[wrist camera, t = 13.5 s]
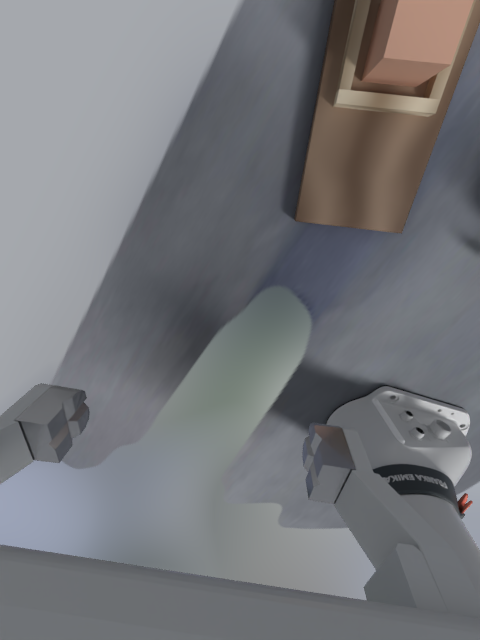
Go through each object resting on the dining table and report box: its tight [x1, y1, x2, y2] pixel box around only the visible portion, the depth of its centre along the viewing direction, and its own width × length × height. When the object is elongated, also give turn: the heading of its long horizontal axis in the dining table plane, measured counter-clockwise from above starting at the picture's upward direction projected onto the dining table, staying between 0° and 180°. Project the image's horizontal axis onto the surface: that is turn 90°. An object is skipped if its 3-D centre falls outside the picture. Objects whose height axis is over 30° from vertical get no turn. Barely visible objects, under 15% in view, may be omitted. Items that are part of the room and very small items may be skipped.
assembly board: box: [294, 0, 480, 233], centre depth 25 cm, size 12×20×3 cm, turn 174°
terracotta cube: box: [361, 0, 474, 87], centre depth 21 cm, size 5×5×5 cm
